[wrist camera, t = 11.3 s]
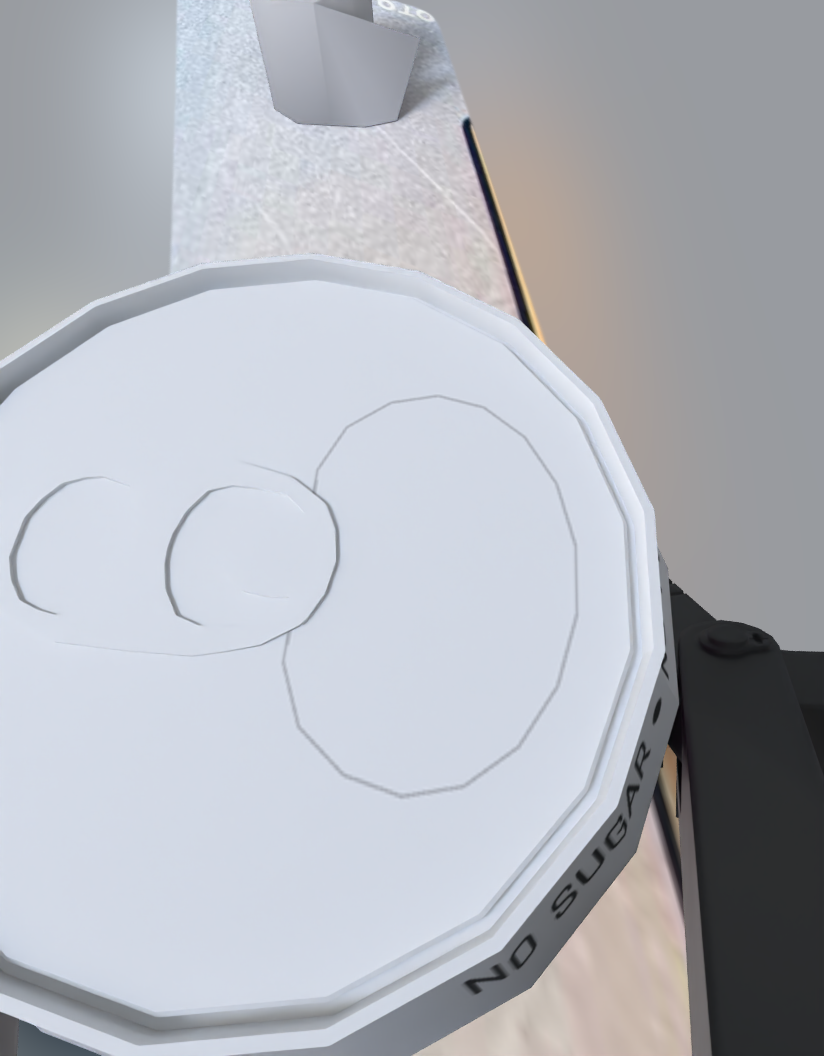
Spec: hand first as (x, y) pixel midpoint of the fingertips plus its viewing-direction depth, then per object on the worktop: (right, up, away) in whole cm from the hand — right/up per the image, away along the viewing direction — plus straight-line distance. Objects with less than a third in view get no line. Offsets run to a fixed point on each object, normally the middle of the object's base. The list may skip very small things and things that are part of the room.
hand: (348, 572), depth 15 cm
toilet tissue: (-5, +38, +38) cm, 54 cm away
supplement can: (+1, -5, +4) cm, 7 cm away
